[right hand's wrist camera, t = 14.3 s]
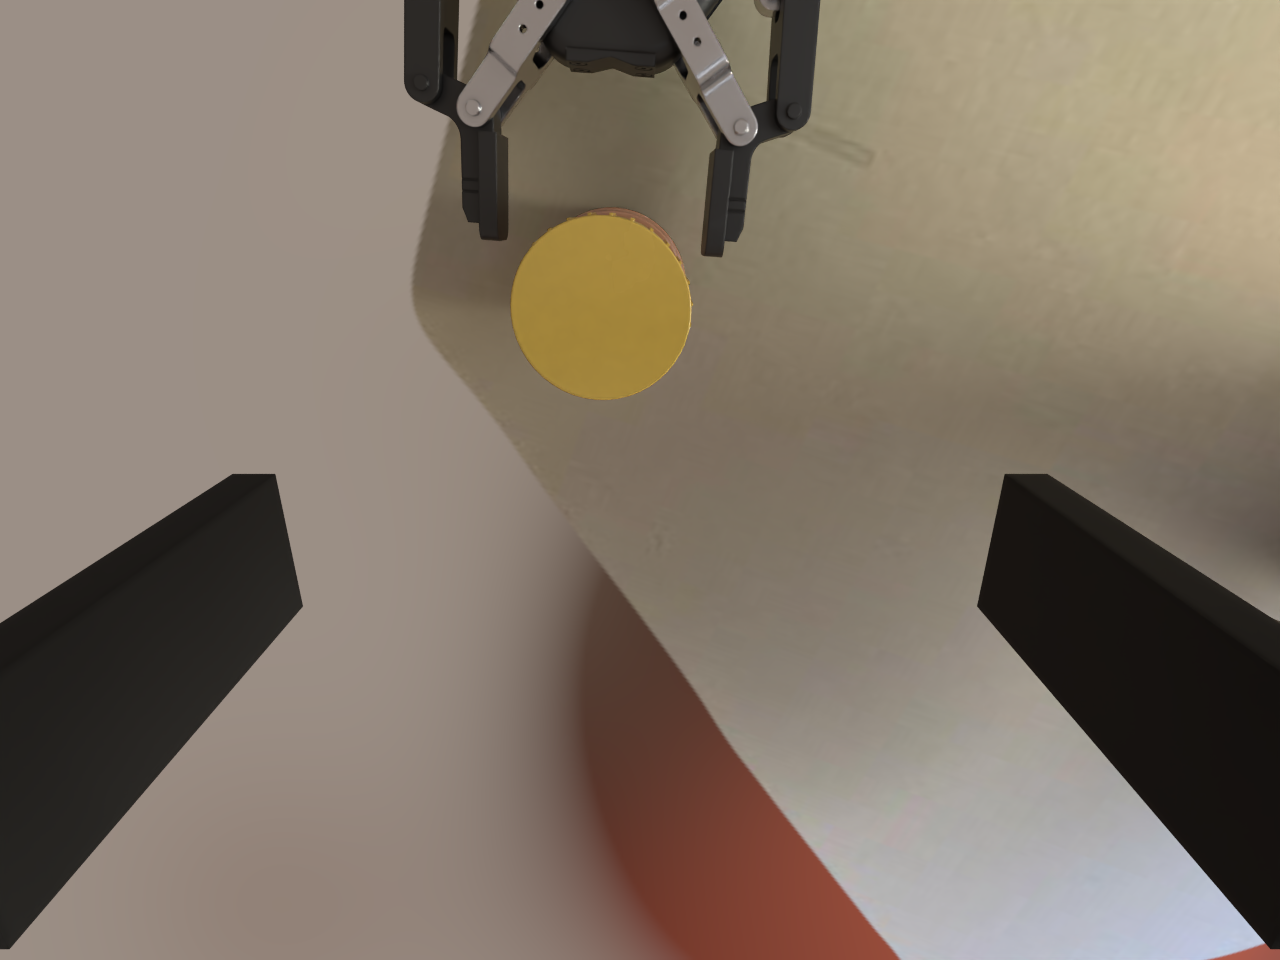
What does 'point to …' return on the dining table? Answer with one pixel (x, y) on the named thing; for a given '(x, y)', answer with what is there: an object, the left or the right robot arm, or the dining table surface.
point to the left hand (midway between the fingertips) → (603, 247)
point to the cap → (601, 306)
